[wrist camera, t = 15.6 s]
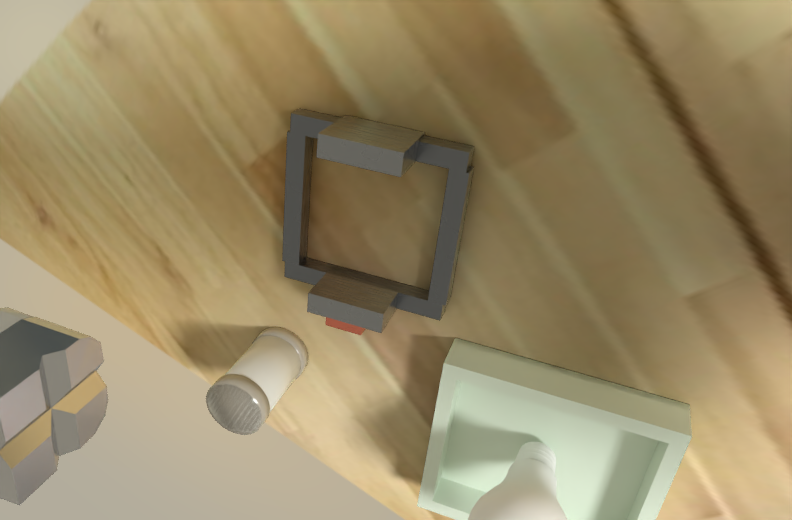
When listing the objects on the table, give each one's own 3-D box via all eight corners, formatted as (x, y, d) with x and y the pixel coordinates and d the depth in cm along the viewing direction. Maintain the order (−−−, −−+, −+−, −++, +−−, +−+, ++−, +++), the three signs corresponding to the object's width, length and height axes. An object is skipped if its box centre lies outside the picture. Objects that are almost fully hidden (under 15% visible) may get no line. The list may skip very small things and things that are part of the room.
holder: (478, 143, 39) (461, 166, 36) (445, 321, 45) (429, 355, 42) (296, 104, 42) (265, 121, 38) (289, 277, 48) (261, 306, 44)
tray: (689, 404, 42) (692, 436, 40) (630, 544, 48) (629, 580, 46) (455, 337, 45) (443, 362, 43) (428, 476, 52) (417, 506, 49)
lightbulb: (536, 496, 48) (506, 634, 39) (476, 437, 48) (431, 561, 39) (605, 461, 45) (590, 601, 36) (541, 397, 45) (509, 522, 35)
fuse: (309, 336, 50) (263, 393, 44) (306, 381, 52) (262, 442, 46) (257, 320, 50) (205, 375, 45) (257, 365, 52) (206, 423, 47)
